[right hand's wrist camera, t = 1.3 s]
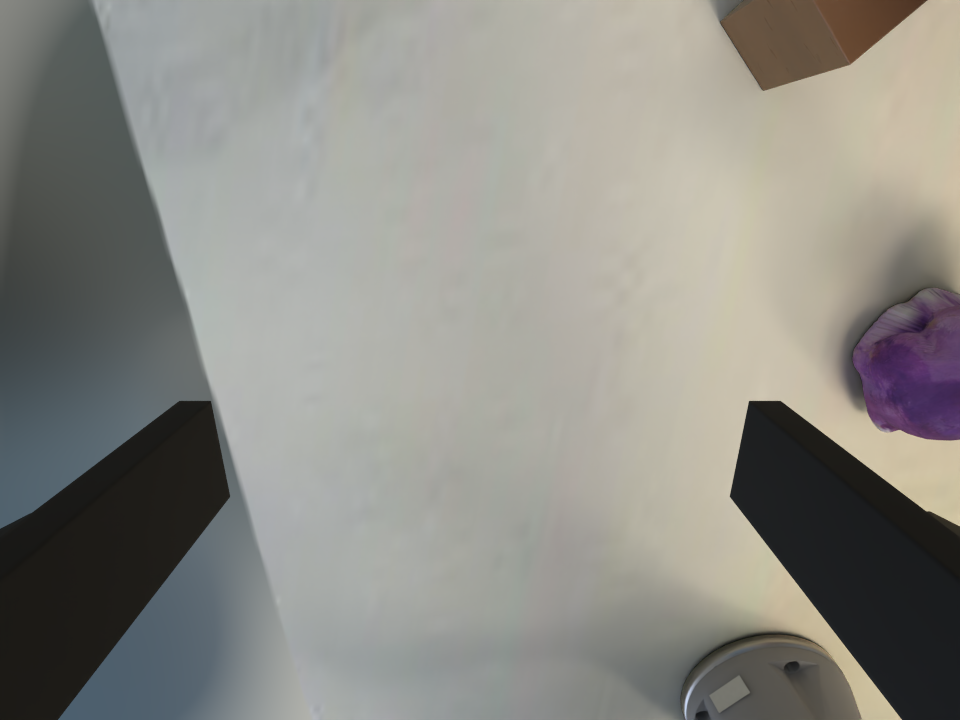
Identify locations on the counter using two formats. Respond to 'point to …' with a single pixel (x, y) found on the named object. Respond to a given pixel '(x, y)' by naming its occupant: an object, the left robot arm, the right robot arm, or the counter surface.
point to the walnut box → (809, 34)
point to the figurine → (914, 366)
